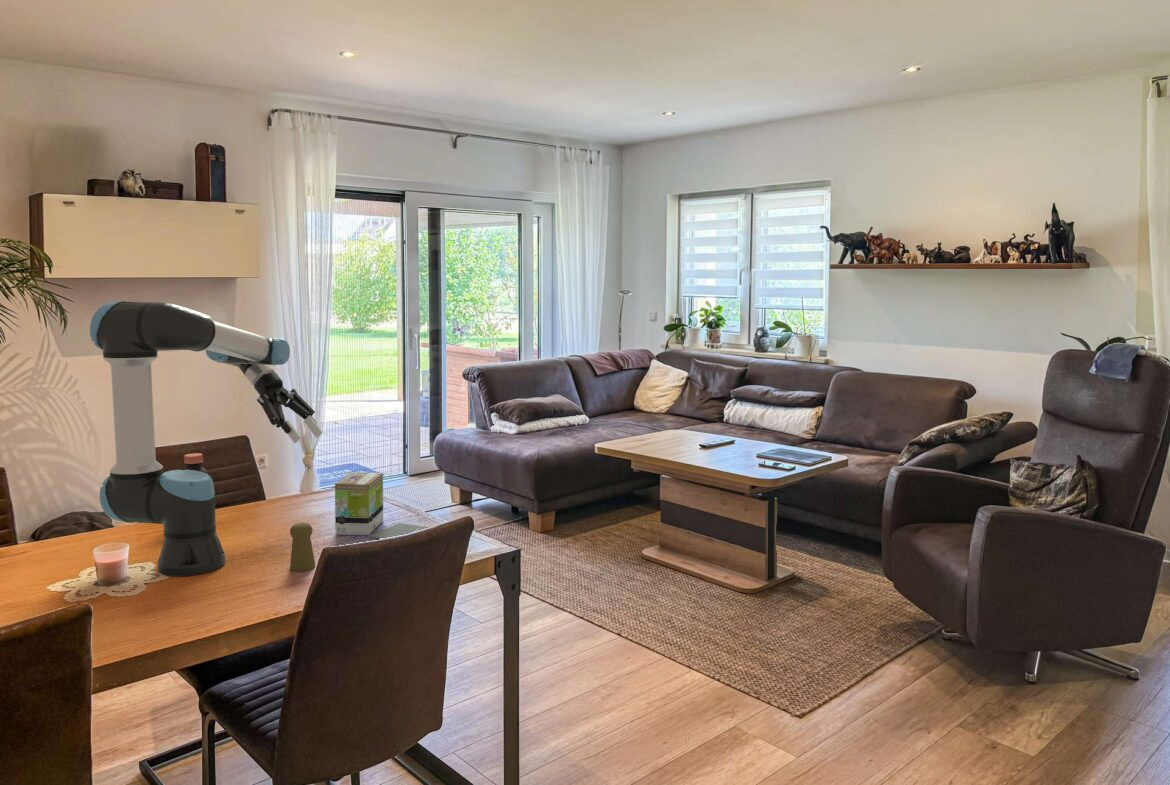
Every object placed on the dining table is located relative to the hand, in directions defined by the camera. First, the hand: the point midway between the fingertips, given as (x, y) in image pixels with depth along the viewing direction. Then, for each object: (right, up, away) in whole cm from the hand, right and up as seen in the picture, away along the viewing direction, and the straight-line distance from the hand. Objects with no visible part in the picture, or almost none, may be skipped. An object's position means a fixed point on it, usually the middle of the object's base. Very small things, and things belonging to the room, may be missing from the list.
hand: (308, 437), depth 247 cm
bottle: (-33, -25, 0) cm, 41 cm away
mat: (+28, -26, -9) cm, 40 cm away
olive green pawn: (+11, -30, -37) cm, 49 cm away
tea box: (+16, -26, -4) cm, 31 cm away
